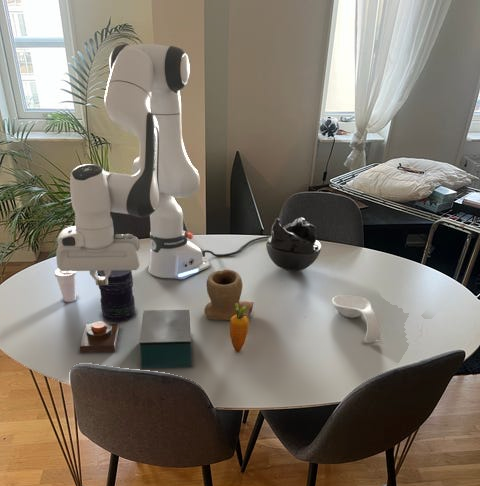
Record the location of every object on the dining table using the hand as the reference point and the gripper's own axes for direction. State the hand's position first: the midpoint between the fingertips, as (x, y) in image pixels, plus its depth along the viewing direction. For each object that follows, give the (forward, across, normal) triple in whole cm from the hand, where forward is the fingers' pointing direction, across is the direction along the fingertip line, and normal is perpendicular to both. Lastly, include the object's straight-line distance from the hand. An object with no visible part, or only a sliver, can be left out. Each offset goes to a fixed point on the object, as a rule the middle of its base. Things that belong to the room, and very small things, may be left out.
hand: (102, 284), depth 122 cm
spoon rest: (+18, -74, -5) cm, 76 cm away
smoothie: (+17, +15, -22) cm, 31 cm away
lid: (+9, -16, +8) cm, 20 cm away
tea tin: (+17, -16, +8) cm, 25 cm away
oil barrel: (+17, -1, -12) cm, 21 cm away
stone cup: (+17, -35, -10) cm, 40 cm away
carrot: (+17, -35, +9) cm, 40 cm away
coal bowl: (+18, -61, -43) cm, 77 cm away
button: (+13, +2, +2) cm, 13 cm away
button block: (+17, +2, +2) cm, 17 cm away
